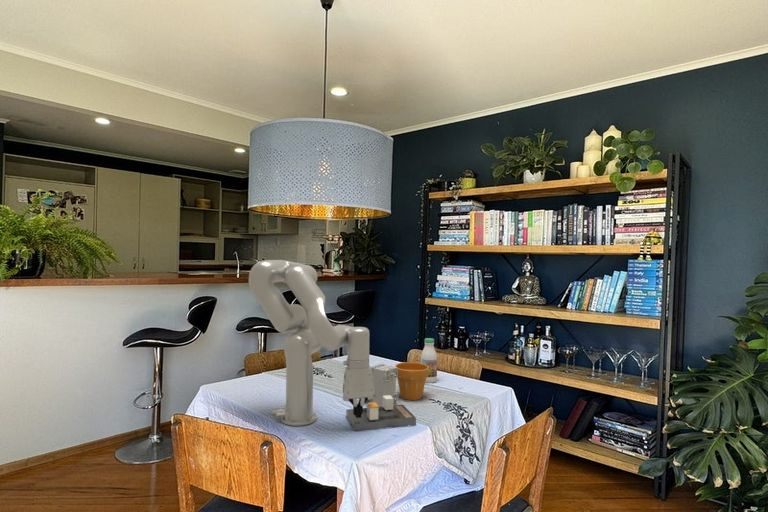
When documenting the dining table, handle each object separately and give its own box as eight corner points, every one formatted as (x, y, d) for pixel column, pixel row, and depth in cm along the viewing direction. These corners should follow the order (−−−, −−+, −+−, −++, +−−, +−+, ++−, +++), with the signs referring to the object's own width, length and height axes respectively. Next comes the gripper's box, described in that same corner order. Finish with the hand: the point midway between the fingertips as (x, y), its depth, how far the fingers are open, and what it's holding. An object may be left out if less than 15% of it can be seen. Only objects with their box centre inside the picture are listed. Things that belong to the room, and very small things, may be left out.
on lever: (385, 410, 162) (385, 399, 162) (382, 406, 166) (382, 395, 166) (393, 409, 163) (393, 398, 163) (390, 405, 167) (390, 395, 167)
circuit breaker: (370, 397, 185) (370, 361, 185) (397, 404, 176) (397, 367, 176) (357, 401, 180) (358, 364, 179) (385, 409, 170) (385, 371, 170)
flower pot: (423, 391, 194) (424, 361, 194) (432, 402, 180) (432, 370, 180) (391, 392, 192) (392, 362, 192) (398, 403, 178) (398, 371, 178)
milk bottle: (417, 380, 211) (417, 338, 211) (429, 377, 215) (429, 336, 215) (428, 384, 205) (428, 341, 204) (440, 381, 209) (441, 339, 209)
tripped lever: (369, 420, 152) (369, 406, 152) (366, 415, 156) (366, 402, 156) (378, 419, 153) (378, 406, 153) (375, 415, 157) (375, 402, 157)
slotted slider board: (354, 431, 150) (354, 423, 150) (346, 416, 163) (346, 409, 163) (415, 425, 156) (416, 417, 156) (402, 411, 169) (403, 404, 169)
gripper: (338, 367, 147) (338, 422, 147) (382, 364, 151) (381, 418, 151) (334, 362, 154) (334, 414, 154) (376, 359, 158) (375, 410, 159)
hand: (357, 416), depth 153 cm, fingers closed
